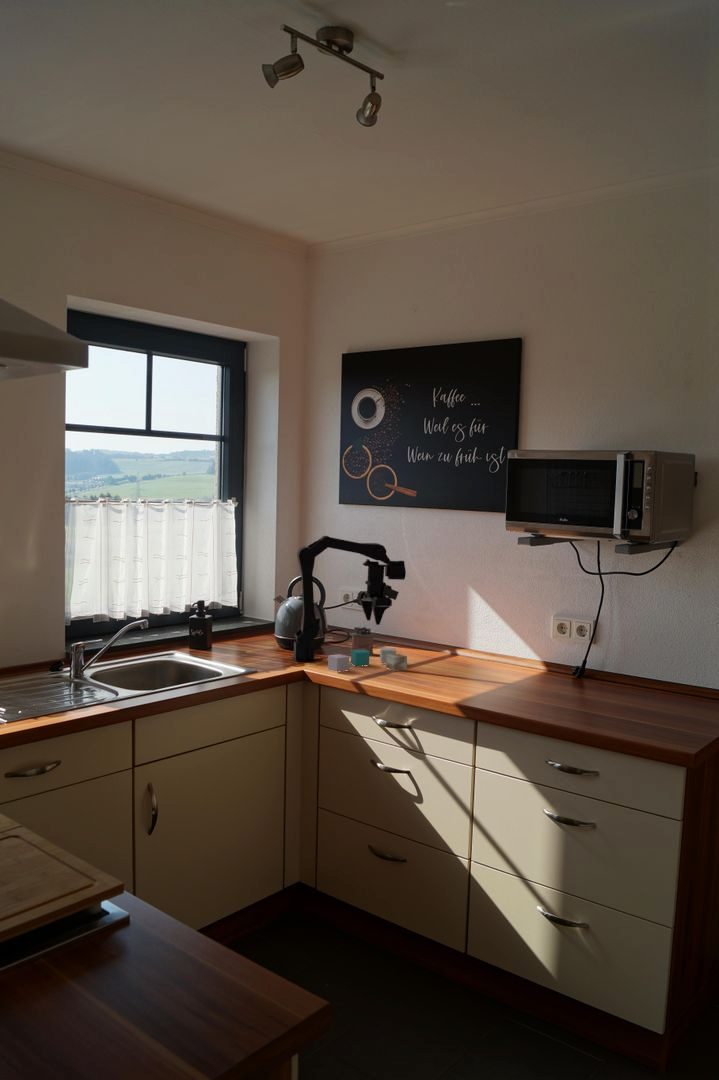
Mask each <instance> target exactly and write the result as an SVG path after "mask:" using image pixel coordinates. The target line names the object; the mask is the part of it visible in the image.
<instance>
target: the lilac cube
mask: <svg viewBox="0 0 719 1080" xmlns="http://www.w3.org/2000/svg"><path fill="white" fill-rule="evenodd" d="M327 658H328V659H327V670H328V669H329V670H333V671H337V672H338V671H345V670H349V671H350V656H348V655H344V654H342V653H339V654H330V655H328V657H327ZM329 670H328V671H329Z"/></svg>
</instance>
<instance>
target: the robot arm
mask: <svg viewBox="0 0 719 1080" xmlns="http://www.w3.org/2000/svg"><path fill="white" fill-rule="evenodd" d="M328 548H329V549H334V550H339V551H345V552H348V553H349V552H350V553H355V554H359V555H362V556H364V557H367V558H366V560H365V561H364V562H363V563H362V565H363V566H364V567H367V580H365V584H366V590H362V591H361V590H360V591H359V592H358V593H357V600H358V602H359V603H360V606H361V607H362V610H363V613H364V615H365V618H366V621H368V622H369V621H371V618H372V615H373V618H374V621H375V624H376V626H379V625H381V621H382V619H383V617H384V613H385V611H386V610H388V609H389V608H390V607H392V606H393V600H394V601H396V600H397V599H398V598H397V597H398V596H399V591H397V590H394V589H392V586H390V585H388V584H387V583H386V582H384V581H385V580H384V577H387V580H394V581H395V580H398V581H400V580H401V581H405V579H406V572H407V571H406V565H405V560H391V559H390V557H389V556H388V555H387V549H386V547H385V546H384V545H382V544H380V543H378V542H357V541H351V540H347V539H346V540H345V539H341V538H338V537H337V538H336V537H330V536H328V535H323V536H321V537H320V538H318V539H317V540H315V541H314V542H312V543H310V544H309V545H307V546H305V545H304V546H301V547H300V548H299V549H298V550H297V552H296V558H297V562H298V565H299V570H300V573H301V592H302V608H303V609H302V611H303V612H302V615H301V623H300V628H299V629H298V631H296V632H295V633H294V637H295V641H293V655H292V656H291V659H292V660H294V661H296V662H313V661H315V651H316V650H315V646H314V639H316V638H317V637H318V636H319V634H320V633H319V632H320V631H321V630H322V629H321V627H320V623H321V619H320V617H319V616H318V615H316V614H315V601H314V598H315V597H314V579H313V572H314V568H315V560H316V557H318V556H319V555H321V553H323V552H324V551H325V550H327V549H328ZM369 558H370V559H372V561H371V560H370V559H369ZM373 560H375V561H373ZM380 562H381V563H384V564H381V563H380ZM372 613H373V614H372Z"/></svg>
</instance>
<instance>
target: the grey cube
mask: <svg viewBox="0 0 719 1080" xmlns="http://www.w3.org/2000/svg"><path fill="white" fill-rule="evenodd" d="M379 650H380V651H379V652H380V653H379V654H380V655H379V662H380V661H381V662H380V664H381V663H387V654H397V649H396V648H395V647H382V646H381V647H380V649H379Z"/></svg>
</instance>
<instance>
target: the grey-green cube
mask: <svg viewBox="0 0 719 1080" xmlns="http://www.w3.org/2000/svg"><path fill="white" fill-rule="evenodd" d="M385 665H386V667H385V669H386V668H389V669H391V670H394V671H395V670H407V666H408V656H407V655H405V654H401V653H396V654H387V663H386V664H385ZM391 670H390V671H391ZM407 671H408V670H407Z"/></svg>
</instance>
